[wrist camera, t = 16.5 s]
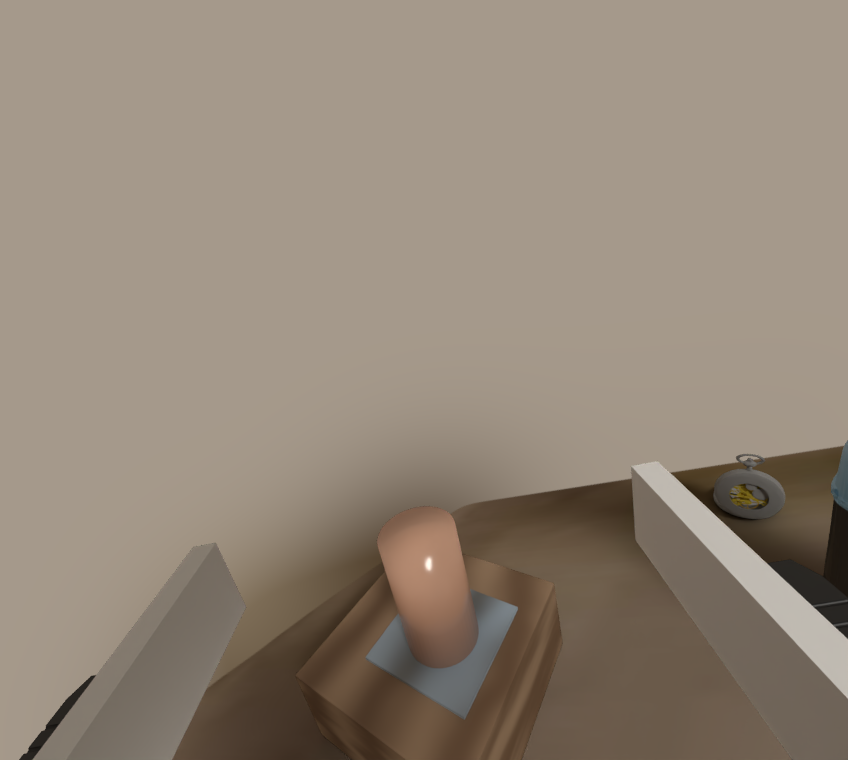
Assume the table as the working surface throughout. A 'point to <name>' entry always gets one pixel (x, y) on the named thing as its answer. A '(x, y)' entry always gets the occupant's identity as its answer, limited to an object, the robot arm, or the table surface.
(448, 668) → the walnut box
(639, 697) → the table surface
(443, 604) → the terracotta cylinder
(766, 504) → the pocket watch
